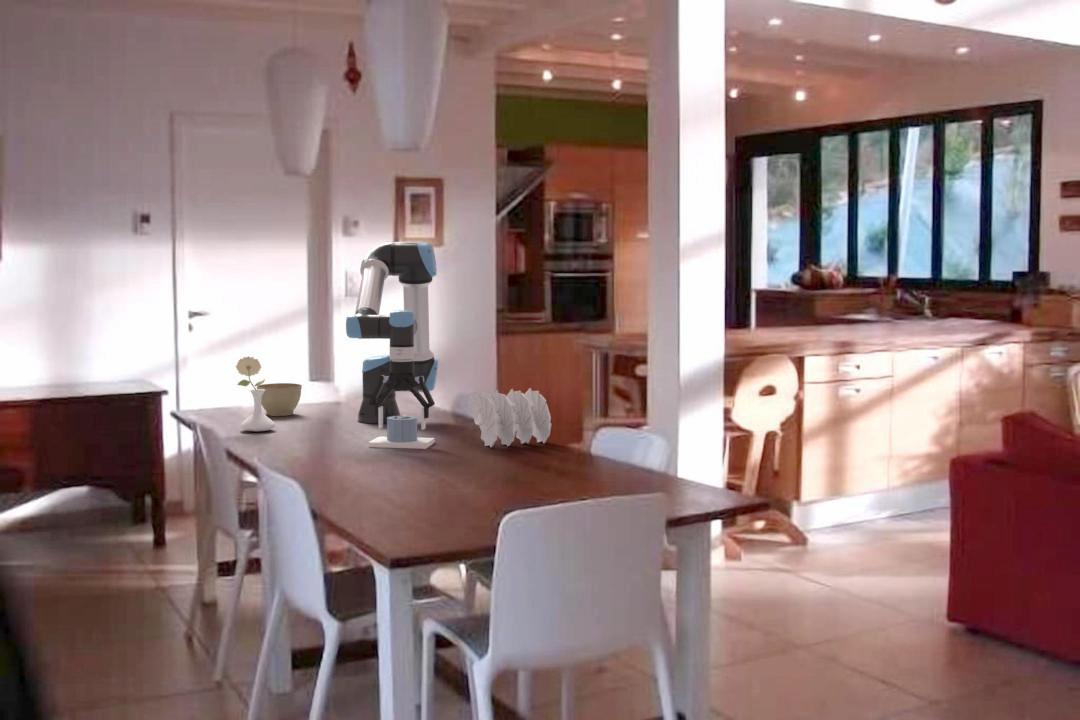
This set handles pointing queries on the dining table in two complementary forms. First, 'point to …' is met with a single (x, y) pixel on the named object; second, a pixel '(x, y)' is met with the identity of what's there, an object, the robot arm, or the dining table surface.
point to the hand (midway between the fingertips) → (402, 428)
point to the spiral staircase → (511, 416)
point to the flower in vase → (257, 418)
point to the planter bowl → (280, 398)
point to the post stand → (418, 444)
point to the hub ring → (402, 429)
